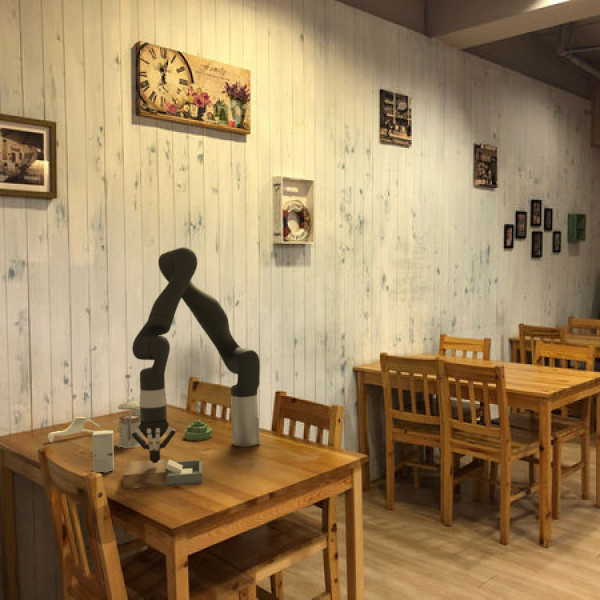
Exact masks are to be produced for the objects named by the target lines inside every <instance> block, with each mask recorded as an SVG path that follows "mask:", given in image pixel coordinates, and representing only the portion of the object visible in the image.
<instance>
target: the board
mask: <svg viewBox="0 0 600 600" xmlns="http://www.w3.org/2000/svg"><path fill="white" fill-rule="evenodd" d="M168 461H169V458H168V459H167V458H166V459H164V458H163V459H160V460H159V461H158V463H152V461H150V459H149V460H138V461H137V460H136V461H128V462H127V464H126V467H125V468H124V472H123V475H122V481H123V483H122V484H123V489H124V488H130V489H135V488H134V487H143V488H152V487H153V488H155V487H168V486H167V482H166V475H168V473H169V470H168V469H165V468H166V465H167V463H168Z"/></svg>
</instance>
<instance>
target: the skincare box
mask: <svg viewBox="0 0 600 600" xmlns="http://www.w3.org/2000/svg"><path fill="white" fill-rule="evenodd" d="M93 431H94V432H92V435H91V436H92V439H91V440H92V471H93V472H104V473H110V472H109V471H113V472H114V468H115V457H114V454H115V453H114V452H115V451H114V430H113V429H110V430H109V429H108V430H107V429H106V430H93ZM93 472H92V473H93Z"/></svg>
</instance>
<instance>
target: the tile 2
mask: <svg viewBox="0 0 600 600" xmlns="http://www.w3.org/2000/svg"><path fill="white" fill-rule="evenodd" d="M187 473H193V468H190V469H182V470H181V472H180V474H187Z"/></svg>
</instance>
